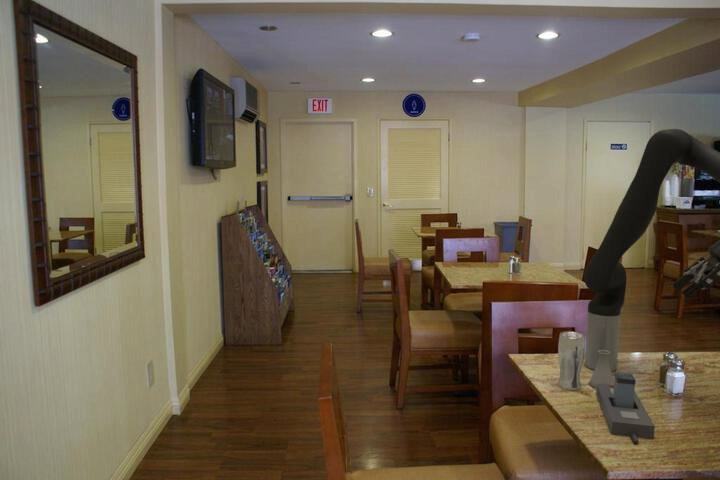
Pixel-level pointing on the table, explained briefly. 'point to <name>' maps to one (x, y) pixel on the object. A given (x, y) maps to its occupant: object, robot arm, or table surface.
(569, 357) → the beer glass
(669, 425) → the table surface
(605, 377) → the flask
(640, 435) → the power strip
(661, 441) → the table surface
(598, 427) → the table surface
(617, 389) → the plug
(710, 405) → the table surface
